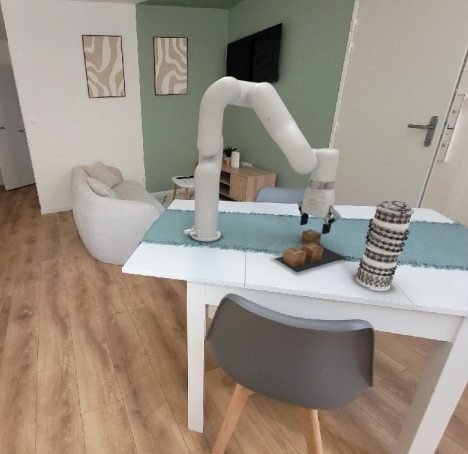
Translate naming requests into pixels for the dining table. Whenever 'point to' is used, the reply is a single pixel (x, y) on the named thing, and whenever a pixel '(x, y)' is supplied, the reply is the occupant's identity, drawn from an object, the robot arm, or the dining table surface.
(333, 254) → the word mat
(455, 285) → the dining table surface
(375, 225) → the decorative candle
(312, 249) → the brown cube
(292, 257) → the brown wooden cube
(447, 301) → the dining table surface
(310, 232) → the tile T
